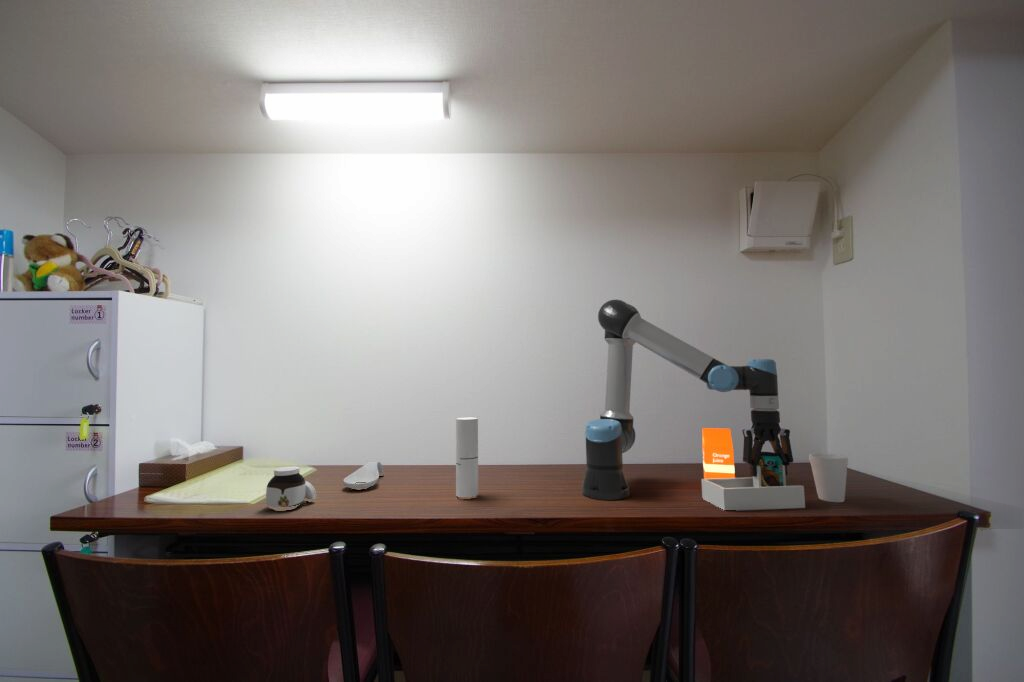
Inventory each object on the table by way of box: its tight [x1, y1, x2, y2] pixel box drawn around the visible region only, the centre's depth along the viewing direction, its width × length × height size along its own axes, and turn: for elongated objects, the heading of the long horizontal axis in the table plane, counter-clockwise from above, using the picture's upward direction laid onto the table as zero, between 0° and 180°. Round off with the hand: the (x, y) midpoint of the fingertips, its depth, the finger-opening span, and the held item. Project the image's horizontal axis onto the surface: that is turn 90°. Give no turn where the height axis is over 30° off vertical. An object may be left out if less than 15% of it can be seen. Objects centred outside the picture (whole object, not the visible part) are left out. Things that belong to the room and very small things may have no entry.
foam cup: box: [808, 452, 849, 503], centre depth 128 cm, size 10×9×13 cm
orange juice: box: [701, 427, 736, 479], centre depth 142 cm, size 8×9×20 cm
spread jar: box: [265, 465, 317, 507], centre depth 128 cm, size 12×11×12 cm
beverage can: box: [757, 451, 783, 487], centre depth 126 cm, size 7×7×12 cm
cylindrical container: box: [455, 417, 479, 497], centre depth 136 cm, size 7×7×25 cm
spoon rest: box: [343, 461, 385, 489], centre depth 154 cm, size 24×12×7 cm, turn 179°
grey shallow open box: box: [700, 476, 806, 511], centre depth 125 cm, size 24×12×6 cm, turn 94°
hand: (769, 486), depth 126 cm, fingers closed on beverage can, 7 cm apart
